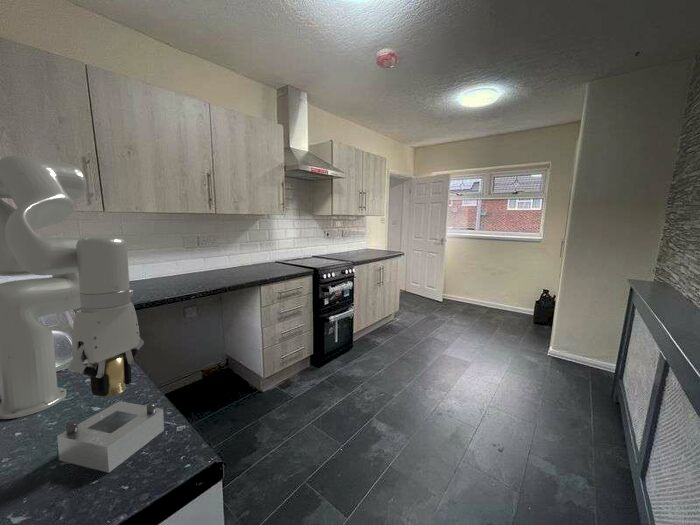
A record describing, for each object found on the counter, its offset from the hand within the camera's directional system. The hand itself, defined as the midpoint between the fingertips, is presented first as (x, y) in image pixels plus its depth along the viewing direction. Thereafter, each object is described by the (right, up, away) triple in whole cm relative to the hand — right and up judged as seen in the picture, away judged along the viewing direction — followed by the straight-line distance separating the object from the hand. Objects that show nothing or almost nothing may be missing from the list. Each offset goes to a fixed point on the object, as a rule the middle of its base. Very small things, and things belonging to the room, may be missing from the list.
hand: (112, 387), depth 59 cm
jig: (0, -12, +1) cm, 12 cm away
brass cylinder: (0, -1, 0) cm, 1 cm away
